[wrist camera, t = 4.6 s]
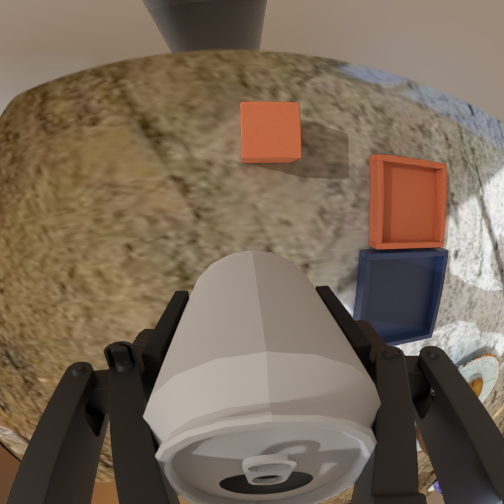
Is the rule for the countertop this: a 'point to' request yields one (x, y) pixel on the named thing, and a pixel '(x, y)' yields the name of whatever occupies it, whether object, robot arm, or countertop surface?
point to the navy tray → (400, 291)
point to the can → (260, 391)
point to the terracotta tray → (406, 202)
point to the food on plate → (474, 382)
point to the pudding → (435, 487)
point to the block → (270, 132)
